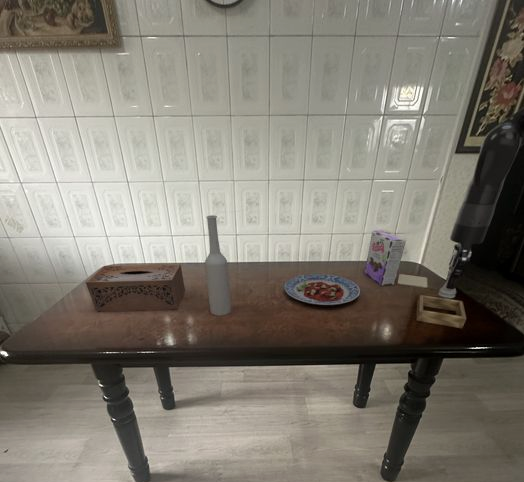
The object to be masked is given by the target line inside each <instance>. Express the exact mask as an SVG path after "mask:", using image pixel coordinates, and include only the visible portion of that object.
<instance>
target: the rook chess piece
mask: <svg viewBox="0 0 524 482" xmlns="http://www.w3.org/2000/svg"><path fill="white" fill-rule="evenodd" d="M451 270H452V268H451V269H450V270H449V269H448V271H447V275H448V274H449V275H448V276H446V278H447V281H446V280H445V282H444V284H443V286H441V287H440V288H439V292H438V293H437V294H438V296H439V298H444V299H451V300H452V299H454V298H455V297H456V294H457V289H456V287H455V289H447V288H446V285H447V282H448V279H449V277H450V272H451ZM456 271H457V272H459V271H460V270H456Z"/></svg>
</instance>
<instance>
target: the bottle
mask: <svg viewBox="0 0 524 482" xmlns="http://www.w3.org/2000/svg"><path fill="white" fill-rule="evenodd" d="M217 218H218V216H217V215H213V214H210V215H207V216H206V222H207V231H208V242H209V245H208V246H209V253H208V255H207V257H206V258H205V260H204V267H205V275H206V276H205V277H206V286H207V293H208V303H209V310H210V313H211V314H212V315H214V316H225V315H228V314H230V313H232V301H231V299H232V298H231V291H230V290H231V288H230V279H229V268H228V267H229V266H228V260H227V258H226V257H225V256H224V254H222V252H221V250H220V249H221V248H220V242H219V233H218V232H219V231H218V223H217Z"/></svg>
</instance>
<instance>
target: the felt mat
mask: <svg viewBox="0 0 524 482" xmlns="http://www.w3.org/2000/svg"><path fill="white" fill-rule="evenodd" d="M397 285H401V286H402V285H403V286H407V287H415V288H416V287H417V288H424V289H428V277H427V276H419V275H412V274H411V275H410V274H402V273H399V274H398V278H397Z"/></svg>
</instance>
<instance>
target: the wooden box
mask: <svg viewBox="0 0 524 482" xmlns="http://www.w3.org/2000/svg"><path fill="white" fill-rule="evenodd" d="M424 307H427V308H433V309H438V310H439V309H440V310H444V311H445V310H447V311H452V312H455V314H449V313H443V312H438V311H432V310H431V311H430V310H424ZM415 318H416V319H415V320H416V321H417V322H422V323H428V324H435V325H440V326H444V327H445V326H447V327H451V328H458V329H463V328H464V326H465V324H466V321H467V315H466V311H465V306H464V302H463V301H462V300H457V299H452V298H451V299H447V298H443V297H436V296H429V295H424V294H420V295H419V296H418V300H417V303H416V317H415Z"/></svg>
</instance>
